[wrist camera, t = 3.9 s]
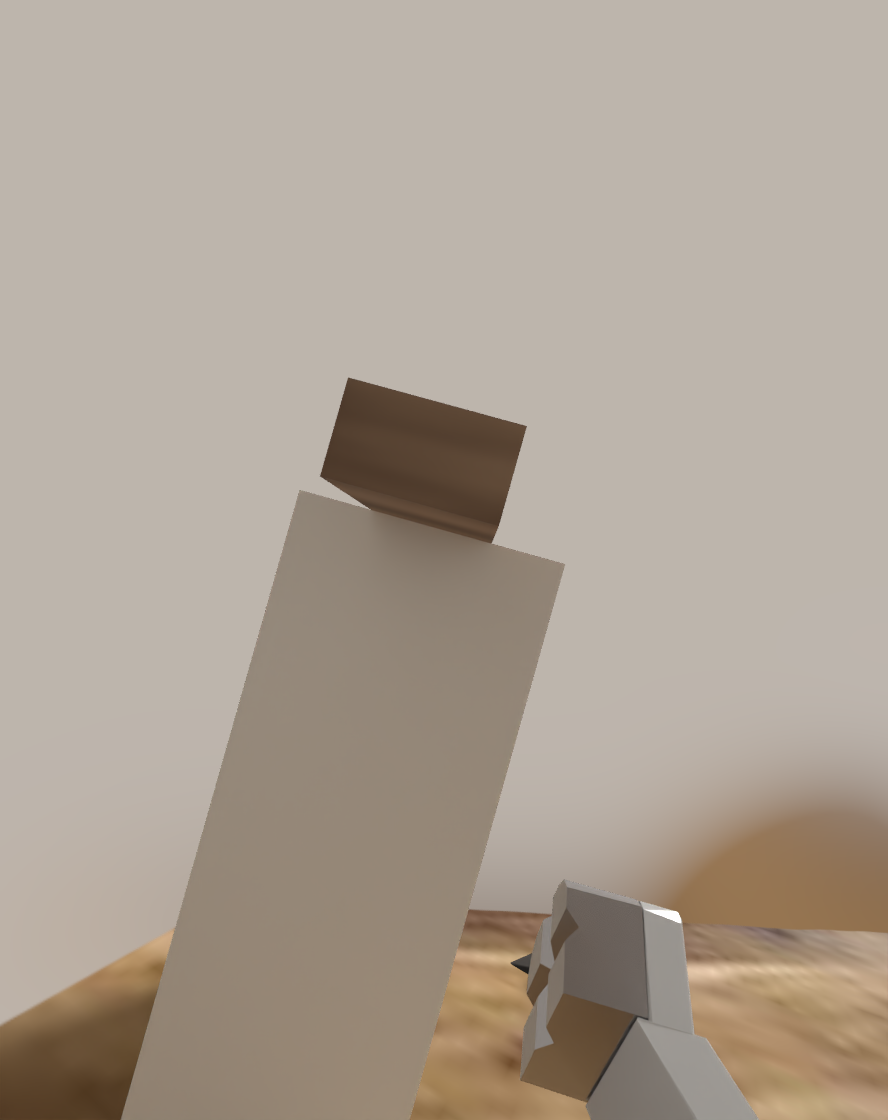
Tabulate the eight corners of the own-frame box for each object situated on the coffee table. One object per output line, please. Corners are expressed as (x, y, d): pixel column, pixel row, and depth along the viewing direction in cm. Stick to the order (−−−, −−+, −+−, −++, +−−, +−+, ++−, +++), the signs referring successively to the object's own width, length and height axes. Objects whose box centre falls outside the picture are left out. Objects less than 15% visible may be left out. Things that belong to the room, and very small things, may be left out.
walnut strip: (408, 533, 46) (420, 490, 46) (486, 555, 46) (498, 512, 46) (319, 476, 20) (348, 377, 20) (498, 525, 20) (526, 426, 20)
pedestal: (232, 972, 46) (360, 520, 46) (406, 1025, 46) (534, 569, 46) (102, 1181, 30) (299, 490, 30) (368, 1267, 30) (565, 564, 30)
